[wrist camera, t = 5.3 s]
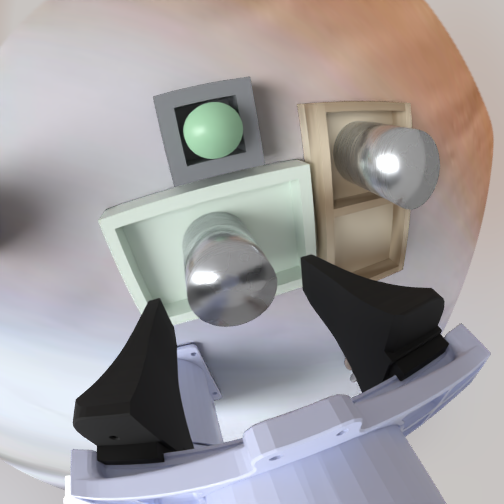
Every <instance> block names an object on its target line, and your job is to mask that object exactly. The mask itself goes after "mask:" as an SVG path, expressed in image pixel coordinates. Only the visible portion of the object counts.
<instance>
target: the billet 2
mask: <svg viewBox="0 0 504 504" xmlns="http://www.w3.org/2000/svg"><path fill="white" fill-rule="evenodd" d="M333 158H334V163H335V166H336V169H337V170H338V172H339V174H340V175H341V176H342V177H343V178H344V179H345V180H347V181H349V182H351V183H353V184H355V185H357V186H360V187H362V188H364V189H366V190H368V191H370V192H372V193H374V194H376V195H378V196H380V197H382V198H384V199H386V200H388V201H390V202H392V203H394V204H396V205H398V206H400V207H402V208H404V209H415V208H418V207H420V206H421V205H423V204H424V203H425V202H426V201H427V200H428V199H429V197H430V196H431V194H432V193H433V191H434V189H435V186H436V184H437V181H438V177H439V170H440V160H439V153H438V149H437V146H436V144H435V142H434V140H433V139H432V138H431V137H430V135H428V134H427V133H426V132H424V131H421V130H417V129H411V128H406V127H401V126H395V125H388V124H382V123H375V122H367V121H354V122H351V123H349V124H347V125H346V126H344V127H343V128H342V129H341V131H340V132H339V134H338V135H337V137H336V140H335V143H334V148H333Z"/></svg>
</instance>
